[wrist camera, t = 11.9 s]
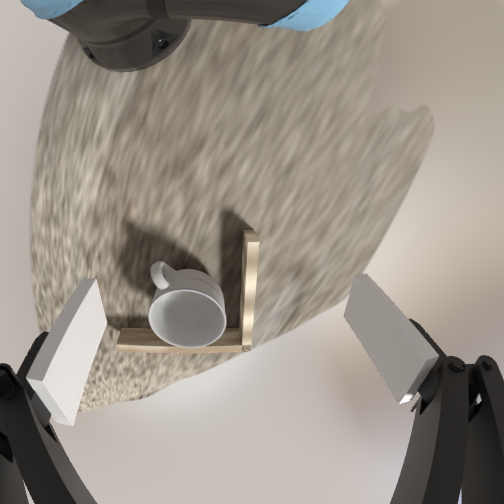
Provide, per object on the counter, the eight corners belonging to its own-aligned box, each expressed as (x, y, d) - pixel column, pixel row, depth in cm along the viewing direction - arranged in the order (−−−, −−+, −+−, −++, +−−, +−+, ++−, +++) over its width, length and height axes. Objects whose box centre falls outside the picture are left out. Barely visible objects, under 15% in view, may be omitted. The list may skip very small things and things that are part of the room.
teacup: (230, 308, 46) (235, 341, 39) (170, 323, 46) (165, 356, 39) (205, 233, 40) (205, 257, 33) (137, 252, 40) (124, 280, 33)
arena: (102, 231, 37) (92, 243, 33) (254, 229, 41) (259, 242, 37) (123, 333, 46) (118, 350, 42) (247, 333, 49) (250, 351, 45)
